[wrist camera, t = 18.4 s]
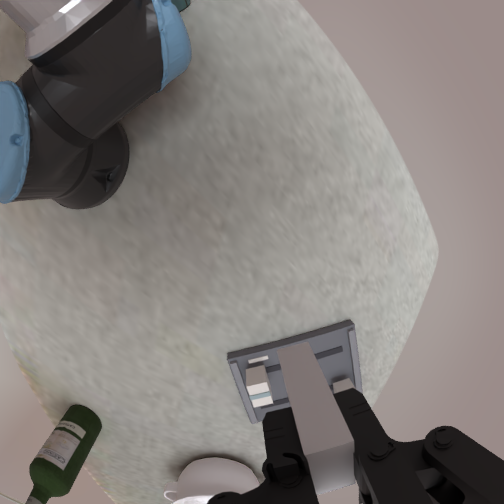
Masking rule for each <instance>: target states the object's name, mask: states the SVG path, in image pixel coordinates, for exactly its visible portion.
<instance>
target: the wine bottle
mask: <svg viewBox="0 0 504 504" xmlns="http://www.w3.org/2000/svg"><path fill="white" fill-rule="evenodd" d="M101 428H102V426H101V422H100V420H99V418H98V417H97V416H96V414H95V413H93V412H92V411H91V410H90V409H88V408H86V407H84V406H81V405H74V406H71V407H70V408H69V409H68V411H67V412H66V414H65V415H64V416H63V418H62V419H61V421H60V422H59V423H58V425H57V426H56V428H55V429H54V431H53V432H52V434H51V435H50V436H49V438H48V439H47V441H46V442H45V443H44V445H43V447H42V448H41V449H40V451H39V452H38V454H37V455H36V457H35V458H34V460H33V461H32V463H31V464H30V476H31V479H32V481H33V484H34V486H33V490H32V492H31V494H30V496H29V497H28V499H27V502H26V503H25V504H46V503H47V501H48V500H49V498H51V497H60V496H64V495H66V494H68V493H69V491H70V489H71V487H72V485H73V483H74V481H75V479H76V477H77V475H78V473H79V471H80V469H81V467H82V465H83V463H84V461H85V460H86V458H87V456H88V454H89V452H90V450H91V448H92V446H93V444H94V442H95V440H96V438H97V437H98V435H99V433H100V431H101Z"/></svg>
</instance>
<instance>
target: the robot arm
mask: <svg viewBox="0 0 504 504" xmlns="http://www.w3.org/2000/svg"><path fill="white" fill-rule="evenodd" d="M0 8H1V9H2V10H3V11H4V12H5V13H6V14H7V15H8V16H9V17H10V18H11V19H12V20H13V21H15V22H16V23H17V24H18V25H19V26H20V27H21V28H22V29H23V30H24V31H25V32H26V45H25V57H26V58H27V59H28V60H29V61H30V62H31V63H33V65H32V66H31V67H30V68H29V69H28V70H27V71H26V72H25V73H24V74H23V75H22V76H21V77H20V78H19V80H18V81H17V82H16V83H14V82H12V81H4V82H3V81H2V82H0V202H1V203H3V204H6V203H9V202H14V201H24V200H36V199H52V200H54V201H56V202H57V203H59V204H60V205H62V206H64V207H67V208H71V209H87V208H92V207H95V206H98V205H100V204H102V203H103V202H105V201H106V200H108V199H109V198H110V197H111V196H112V195H113V194H114V193H115V192H116V190H117V189H118V187H119V186H120V184H121V183H122V181H123V179H124V176H125V174H126V171H127V167H128V162H129V145H128V140H127V137H126V134H125V132H124V130H123V128H122V127H121V125H120V124H119V123H118V121H119V120H120V119H121V118H123V117H124V116H125V115H126V114H128V113H129V112H130V111H131V110H133V109H134V108H135V107H137V106H138V105H139V104H140V103H142V102H143V101H144V100H146V99H147V98H148V97H150V96H151V95H153V94H154V93H155V92H156V93H158V92H160V91H162V90H163V88H164V87H165V86H166V85H167V84H168V83H169V82H171V81H172V80H173V79H175V78H176V77H177V76H179V75H180V74H182V73H183V72H184V71H185V70H186V69H187V67H188V64H189V63H190V60H191V45H190V40H189V36H188V33H187V30H186V27H185V25H184V23H183V20H182V18H181V15H180V13H179V11H178V9H177V8H176V6H175V5H174V4H172V3H171V0H0ZM277 353H278V357H279V361H280V365H281V369H282V373H283V378H284V382H285V386H286V390H287V394H288V398H289V401H290V405H291V407H287V408H283V409H279V410H274V411H270V412H266V414H265V417H264V419H263V421H262V424H263V431H264V439H265V447H266V454H267V459H266V460H265V462H264V463H263V467H262V472H263V474H264V476H265V478H266V479H265V481H264V482H263V483H262V484H261V485H259V486H258V487H256V488H255V489H253V490H250V491H248V492H245V493H243V494H239V493H236V492H232V491H229V492H222V493H219V494H216V495H214V496H213V497H212V498H210V499H209V501H208V502H207V504H319V502H318V499H317V495H319V494H322V493H326V492H330V491H333V490H337V489H340V488H343V487H346V486H350V485H353V484H355V479H356V481H357V484H358V486H359V504H361V503H363V504H504V460H502V459H501V458H499V457H497V456H496V455H495V454H493V453H492V452H490V451H489V450H487V449H486V448H484V447H483V446H481V445H480V444H478V443H477V442H475V441H474V440H473V439H471V438H470V437H468V436H467V435H465V434H464V433H462V432H461V431H459V430H458V429H456V428H454V427H452V426H441V427H437V428H435V429H433V430H431V431H430V432H429V433H428V434H427V435H426V437H425V439H423V440H418V441H412V442H398V441H395V440H393V439H391V438H390V437H388V435H387V434H386V433H385V431H384V429H383V428H382V426H381V424H380V423H379V421H378V419H377V418H376V416H375V414H374V412H373V411H372V410H371V407H370V406H369V404H368V403H367V401H366V399H365V397H364V396H363V394H362V393H361V392H359V391H358V390H356V389H354V388H350V389H347V390H344V391H341V392H338V393H335V394H332V392H331V390H330V387H329V385H328V383H327V381H326V379H325V377H324V375H323V372H322V370H321V368H320V366H319V364H318V362H317V360H316V357H315V355H314V353H313V351H312V349H311V347H310V345H309V343H308V342H304V343H301V344H297V345H293V346H289V347H285V348H282V349H278V350H277Z"/></svg>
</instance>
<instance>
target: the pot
mask: <svg viewBox="0 0 504 504" xmlns="http://www.w3.org/2000/svg"><path fill="white" fill-rule="evenodd" d="M259 485H260V484H259V482H258V479H257V478H256V476H255V474H254V473H253V472H252V470H251V469H250V468H248V467H247V466H246V465H244V464H241V463H239V462H237V461H233V460H229V459H224V458H218V457H212V458H204V459H200V460H195V461H193V462H192V463H190V464H188V465H187V467H186V468H185V469H184V470H183V471H182V473H181V474H180V476H179V478H178V480H177V482H169V483H166V485H165V488H164V496H165V497H166V498H167V499H169V500H171V501H173V502H172V503H171V504H207V502H208V501H209V499H210V498H212V497H213V496H214V495H216V494H219V493H222V492H229V491H232V492H236V493H239V494H243V493H245V492H248V491H250V490H253V489H255V488H256V487H258V486H259Z"/></svg>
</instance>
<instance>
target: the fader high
mask: <svg viewBox="0 0 504 504" xmlns="http://www.w3.org/2000/svg"><path fill="white" fill-rule="evenodd" d="M246 387H247V390H248V393H249V397H250V400H251V401H252V404H253V407H254V408H255V407H259V406H264V405H268V404H272V403H273V399H272V392H271V386H270V383H269V379H268V376H267V373H266V369H265V366H264V365H262V366H258V367H253V368H249V369H246Z"/></svg>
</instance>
